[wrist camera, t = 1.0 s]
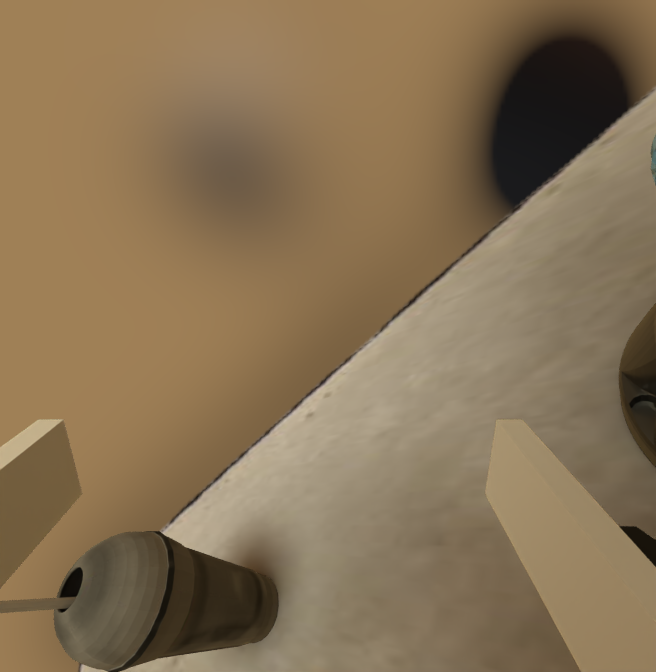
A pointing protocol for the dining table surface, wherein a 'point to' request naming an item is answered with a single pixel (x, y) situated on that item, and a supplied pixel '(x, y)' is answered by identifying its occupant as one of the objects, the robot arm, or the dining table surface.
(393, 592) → the dining table surface
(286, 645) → the dining table surface
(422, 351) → the dining table surface
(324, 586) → the dining table surface
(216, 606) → the beverage cup
